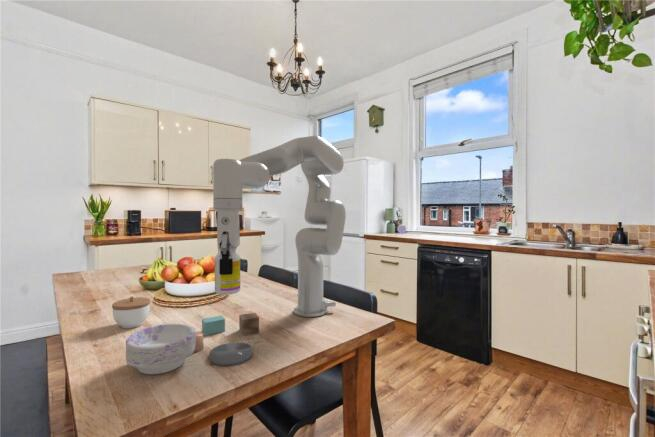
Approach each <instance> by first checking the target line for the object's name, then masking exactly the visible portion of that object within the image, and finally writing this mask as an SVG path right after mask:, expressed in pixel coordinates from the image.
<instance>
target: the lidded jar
mask: <svg viewBox="0 0 655 437" xmlns="http://www.w3.org/2000/svg"><path fill="white" fill-rule="evenodd" d="M111 308H112V316H113V320H114V321H115V323H116V324H117V325H118V326H120V327H121V328H122V329H134V328H137V327H140V326H142V325H143V323H144V322H145V321H146V320H147V319H148V318H149V314H150V311H151V298H148V297H134V296H130V297H129V298H128V297H127V298H124V299H120V300H117V301H115V302H113V303H112V304H111Z"/></svg>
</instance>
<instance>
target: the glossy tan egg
mask: <svg viewBox="0 0 655 437" xmlns="http://www.w3.org/2000/svg"><path fill="white" fill-rule="evenodd" d="M195 332H196V333H195V350H194V352H193V353H198V352H201V351H202V350H204V333H203V332H202V331H195Z"/></svg>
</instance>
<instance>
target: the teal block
mask: <svg viewBox="0 0 655 437" xmlns="http://www.w3.org/2000/svg"><path fill="white" fill-rule="evenodd" d="M201 332H202V333H203V335H204V336H209V335H213V334H218V333H223V332H226V318H224V316H222V315H217V316H216V315H215V316H211V317H206V318H201Z"/></svg>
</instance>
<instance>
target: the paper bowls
mask: <svg viewBox="0 0 655 437" xmlns="http://www.w3.org/2000/svg"><path fill="white" fill-rule="evenodd" d="M196 332H197V331H196V329H195V328H194V327H193V326H191V325H190V324H189V325H188V324H185V323H172V322H171V323H162V324H156V325H152V326H148V327H144V328H141V329H139V330H137V331H134V332H133V333H131V334H130V335H129V336H128V337H127V339H126V340H125V362H126V363H127V365H129V366H130V367H132V368H136V369H137V370H138V371H139V372H140V373H142V374H145V375H162V374H166V373H168V372H171V371H174V370H176V369H178V368H179V367H180V366H182V365H183V364H184V363H185V362H186V359H187V358H188V357H190V356H191V355H192V354H193V353H195V352H194V350H195V333H196Z"/></svg>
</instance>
